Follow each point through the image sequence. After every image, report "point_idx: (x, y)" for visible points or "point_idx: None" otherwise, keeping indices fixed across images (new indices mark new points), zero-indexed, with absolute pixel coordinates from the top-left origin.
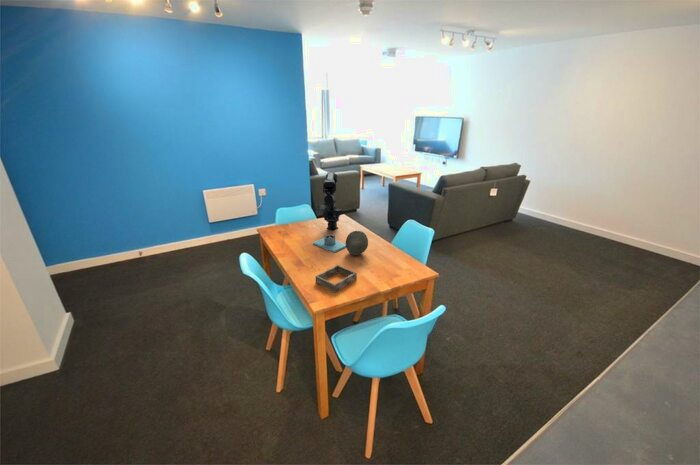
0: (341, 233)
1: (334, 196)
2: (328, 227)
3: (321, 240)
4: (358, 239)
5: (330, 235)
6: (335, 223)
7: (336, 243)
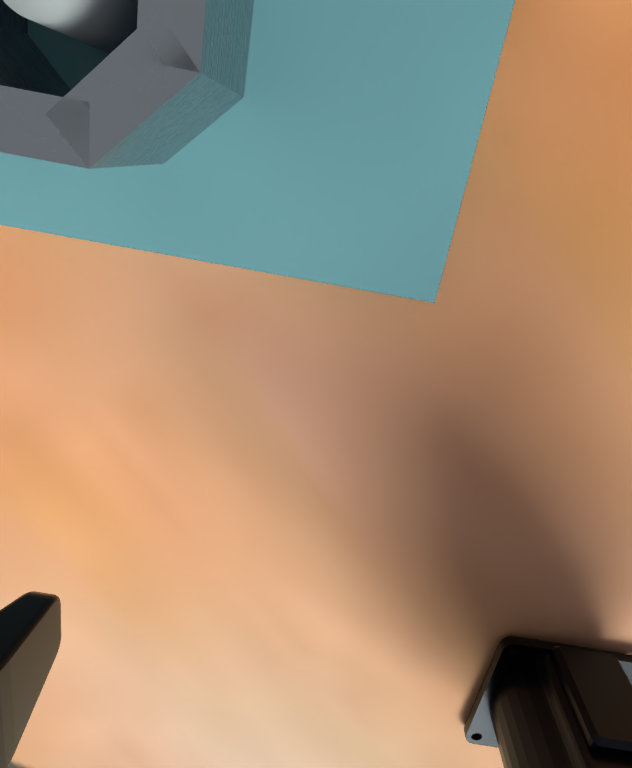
0: (306, 605)
1: None
2: (608, 672)
3: (417, 67)
4: None
5: (83, 81)
6: (34, 609)
7: None
